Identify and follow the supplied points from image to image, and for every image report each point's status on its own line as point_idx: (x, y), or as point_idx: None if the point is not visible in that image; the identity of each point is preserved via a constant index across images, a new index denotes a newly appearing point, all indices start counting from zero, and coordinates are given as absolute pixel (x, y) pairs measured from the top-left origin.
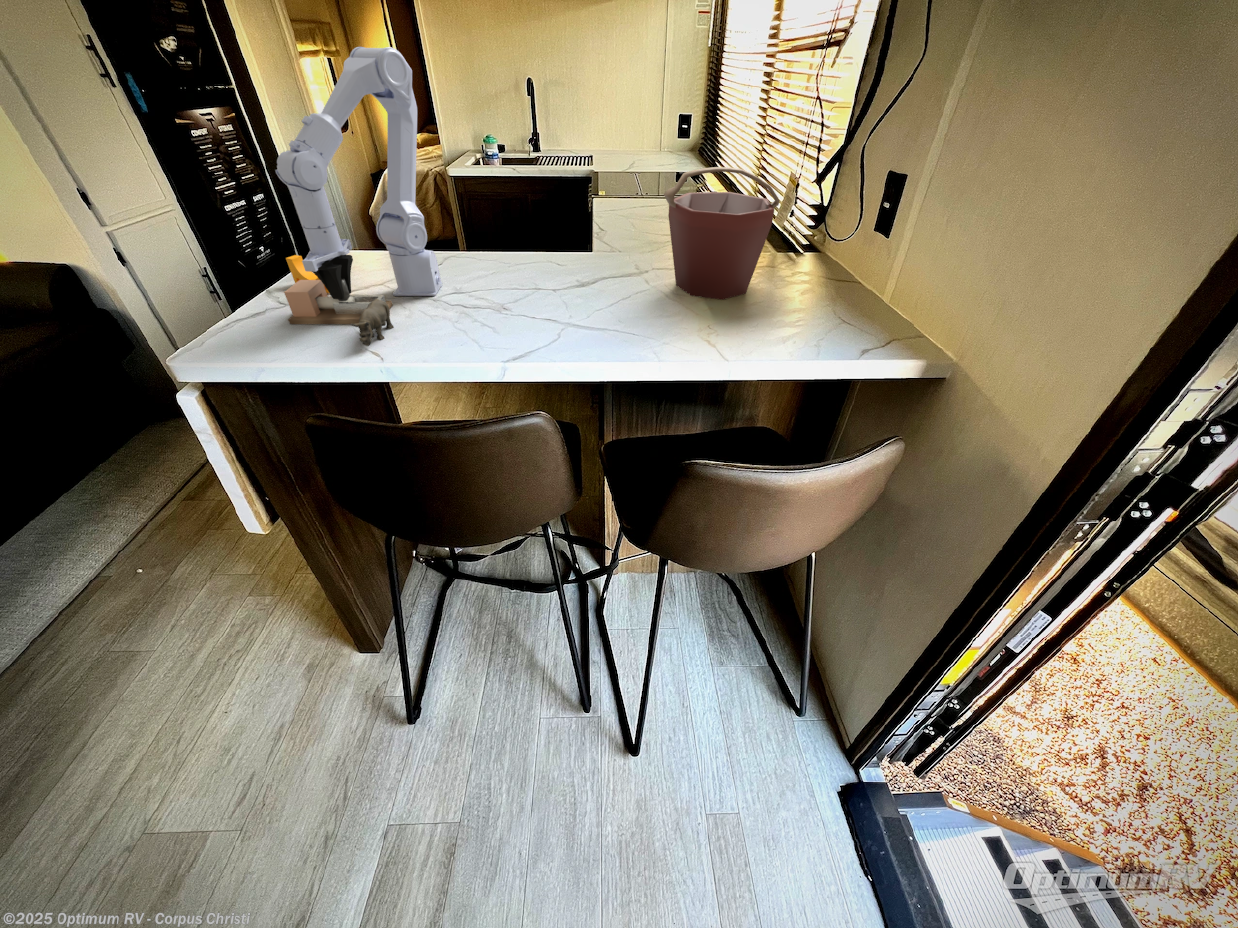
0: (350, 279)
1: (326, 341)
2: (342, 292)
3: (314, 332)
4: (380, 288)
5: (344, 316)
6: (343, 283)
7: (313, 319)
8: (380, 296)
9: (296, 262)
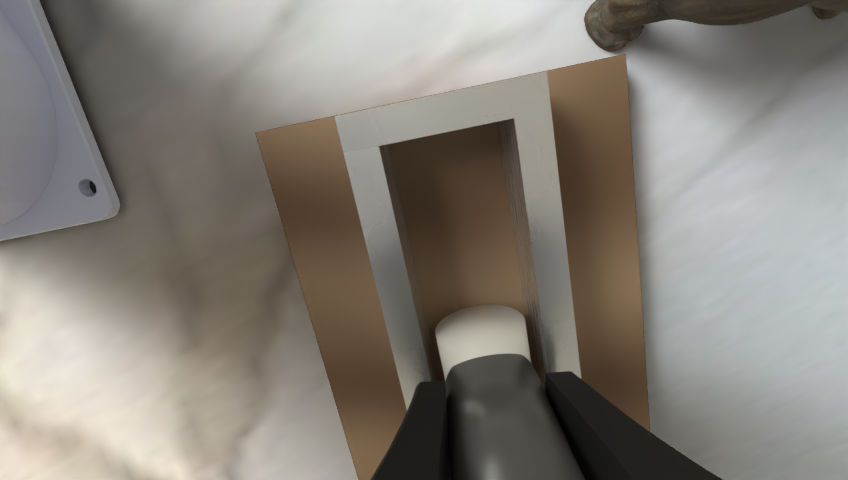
0: (389, 453)
1: None
2: (589, 397)
3: (745, 374)
4: (36, 364)
5: (593, 305)
6: (547, 453)
7: None
8: (370, 132)
9: None
